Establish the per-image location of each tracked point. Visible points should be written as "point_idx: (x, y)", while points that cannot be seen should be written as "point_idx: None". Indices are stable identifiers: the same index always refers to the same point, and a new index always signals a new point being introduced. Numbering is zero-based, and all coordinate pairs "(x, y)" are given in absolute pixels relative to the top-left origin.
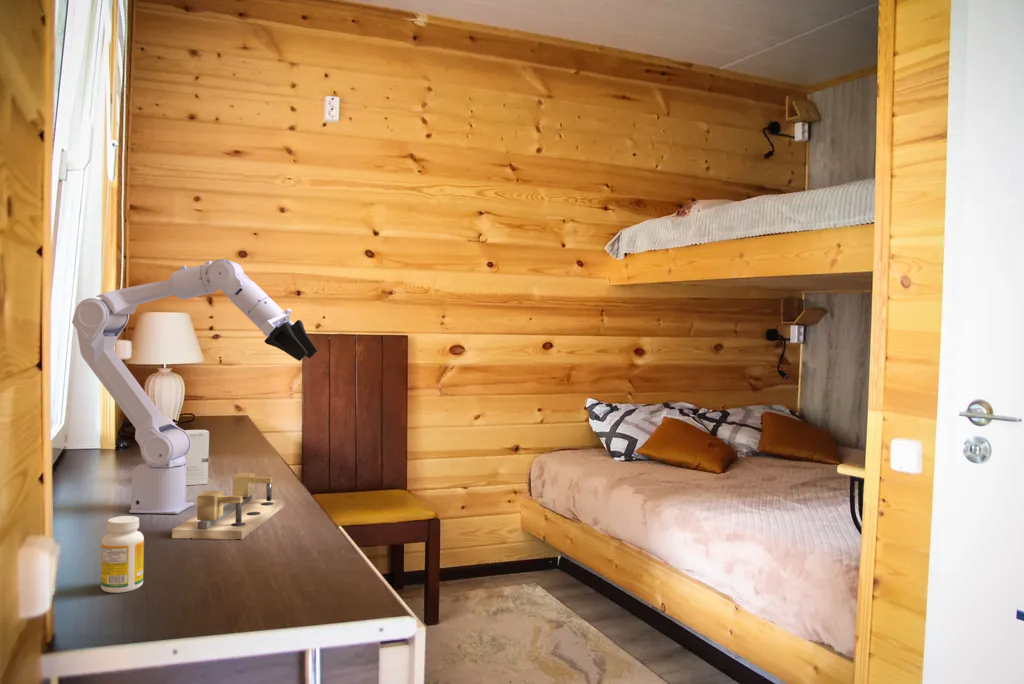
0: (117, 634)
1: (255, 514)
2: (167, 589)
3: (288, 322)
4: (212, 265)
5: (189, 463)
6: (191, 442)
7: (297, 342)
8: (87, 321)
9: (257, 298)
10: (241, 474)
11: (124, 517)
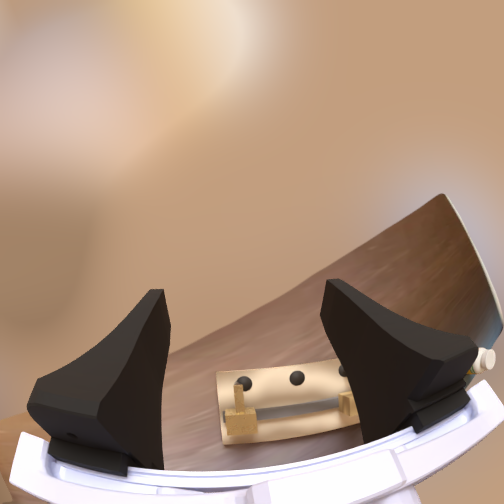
0: (492, 314)
1: (302, 373)
2: (458, 332)
3: (437, 358)
4: None
5: None
6: None
7: (377, 305)
8: None
9: None
10: (240, 428)
11: (488, 362)
